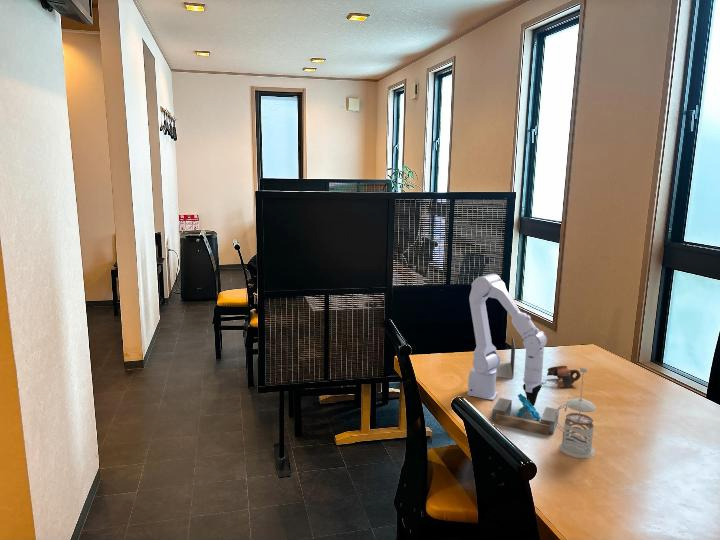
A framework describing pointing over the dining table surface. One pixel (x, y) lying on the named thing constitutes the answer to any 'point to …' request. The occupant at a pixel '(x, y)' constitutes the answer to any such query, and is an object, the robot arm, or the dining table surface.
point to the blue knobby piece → (527, 407)
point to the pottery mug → (564, 375)
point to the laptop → (507, 365)
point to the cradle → (503, 418)
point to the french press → (576, 443)
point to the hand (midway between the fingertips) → (531, 405)
